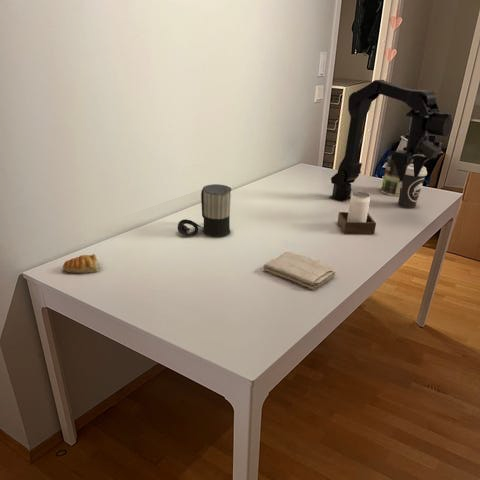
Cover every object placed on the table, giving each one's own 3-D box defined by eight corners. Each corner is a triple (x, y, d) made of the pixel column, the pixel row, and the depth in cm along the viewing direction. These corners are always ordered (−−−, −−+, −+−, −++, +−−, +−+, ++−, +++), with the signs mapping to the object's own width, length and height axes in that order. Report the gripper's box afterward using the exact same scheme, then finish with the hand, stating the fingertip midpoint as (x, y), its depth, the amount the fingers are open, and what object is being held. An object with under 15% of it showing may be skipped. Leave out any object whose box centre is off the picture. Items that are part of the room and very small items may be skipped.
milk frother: (236, 232, 158) (237, 188, 150) (201, 245, 148) (201, 199, 140) (206, 221, 166) (206, 179, 158) (172, 233, 156) (170, 188, 148)
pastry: (63, 276, 128) (61, 263, 126) (63, 265, 133) (61, 253, 131) (99, 272, 131) (98, 259, 129) (98, 262, 136) (96, 249, 134)
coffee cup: (416, 202, 192) (425, 164, 183) (421, 210, 183) (431, 171, 175) (392, 201, 192) (400, 163, 184) (396, 208, 184) (404, 169, 176)
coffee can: (382, 195, 198) (389, 160, 191) (379, 187, 207) (386, 154, 199) (407, 197, 197) (415, 162, 190) (403, 189, 206) (411, 156, 198)
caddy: (337, 222, 169) (338, 212, 167) (365, 223, 170) (367, 212, 168) (343, 233, 160) (345, 222, 158) (374, 234, 161) (376, 223, 159)
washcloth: (315, 291, 125) (316, 281, 124) (260, 271, 135) (261, 261, 133) (337, 276, 133) (338, 266, 132) (284, 258, 142) (285, 248, 141)
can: (353, 233, 161) (359, 198, 155) (342, 226, 166) (347, 192, 160) (368, 230, 164) (375, 196, 158) (356, 224, 169) (362, 190, 162)
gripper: (424, 138, 149) (414, 188, 157) (454, 132, 159) (443, 179, 168) (393, 133, 156) (385, 181, 164) (424, 127, 167) (415, 172, 175)
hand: (408, 178), depth 168 cm, fingers open, 9 cm apart
